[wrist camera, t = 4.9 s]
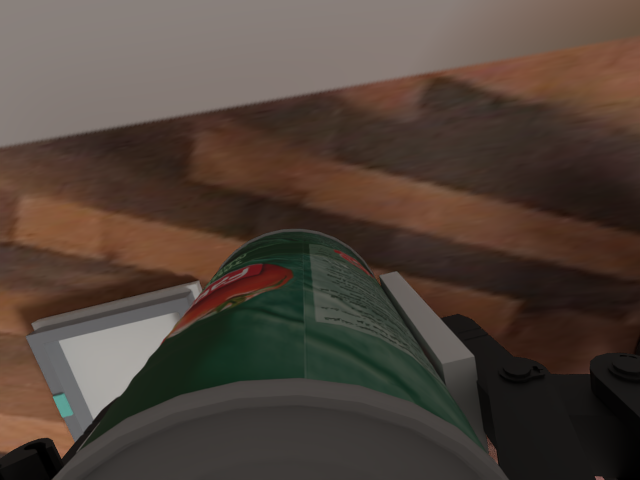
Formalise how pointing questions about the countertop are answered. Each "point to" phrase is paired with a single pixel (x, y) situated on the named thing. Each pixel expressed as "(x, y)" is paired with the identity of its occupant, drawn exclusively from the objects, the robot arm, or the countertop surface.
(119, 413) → the canned tomato
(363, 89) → the countertop surface
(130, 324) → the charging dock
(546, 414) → the robot arm
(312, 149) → the countertop surface
